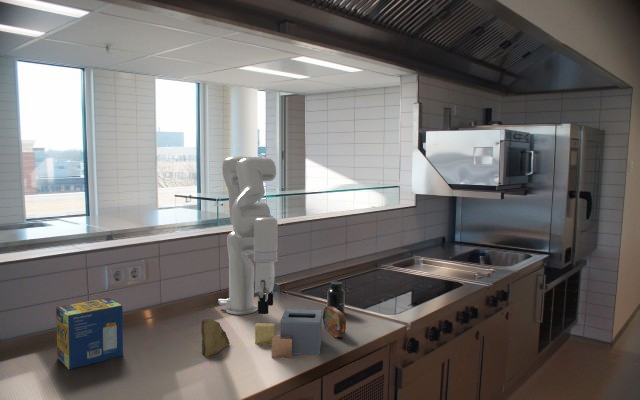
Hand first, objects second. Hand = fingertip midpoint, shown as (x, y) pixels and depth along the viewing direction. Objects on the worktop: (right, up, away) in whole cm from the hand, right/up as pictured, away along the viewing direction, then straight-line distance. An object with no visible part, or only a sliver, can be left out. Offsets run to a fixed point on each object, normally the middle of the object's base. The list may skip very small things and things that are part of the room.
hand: (265, 309), depth 153 cm
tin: (+22, -11, +11) cm, 27 cm away
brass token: (0, -11, +1) cm, 11 cm away
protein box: (-50, -12, -12) cm, 53 cm away
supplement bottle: (+23, -9, +33) cm, 42 cm away
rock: (-15, -12, -5) cm, 19 cm away
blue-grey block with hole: (+12, -11, -1) cm, 16 cm away
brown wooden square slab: (+6, -12, -9) cm, 16 cm away
